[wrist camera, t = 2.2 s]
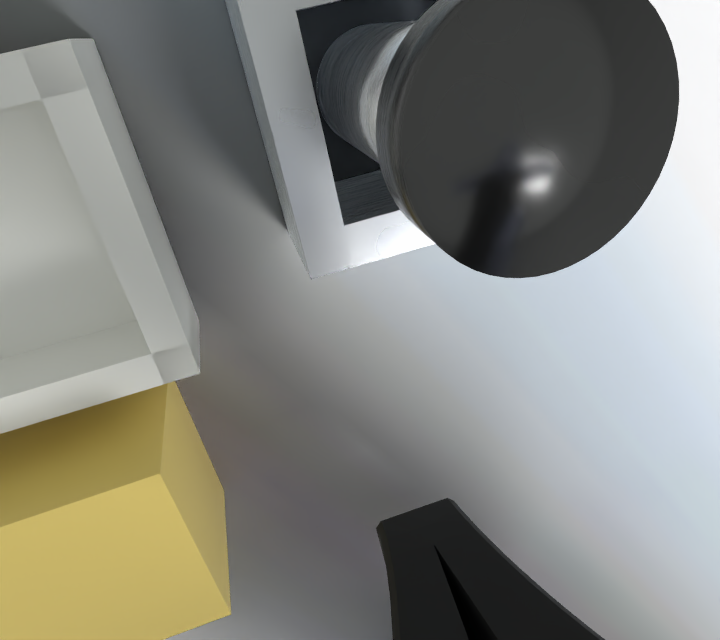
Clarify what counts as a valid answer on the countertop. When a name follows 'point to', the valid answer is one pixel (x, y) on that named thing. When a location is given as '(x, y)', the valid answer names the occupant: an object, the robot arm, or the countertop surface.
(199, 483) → the block
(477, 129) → the stop pin
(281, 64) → the socket block
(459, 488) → the countertop surface
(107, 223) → the tray
